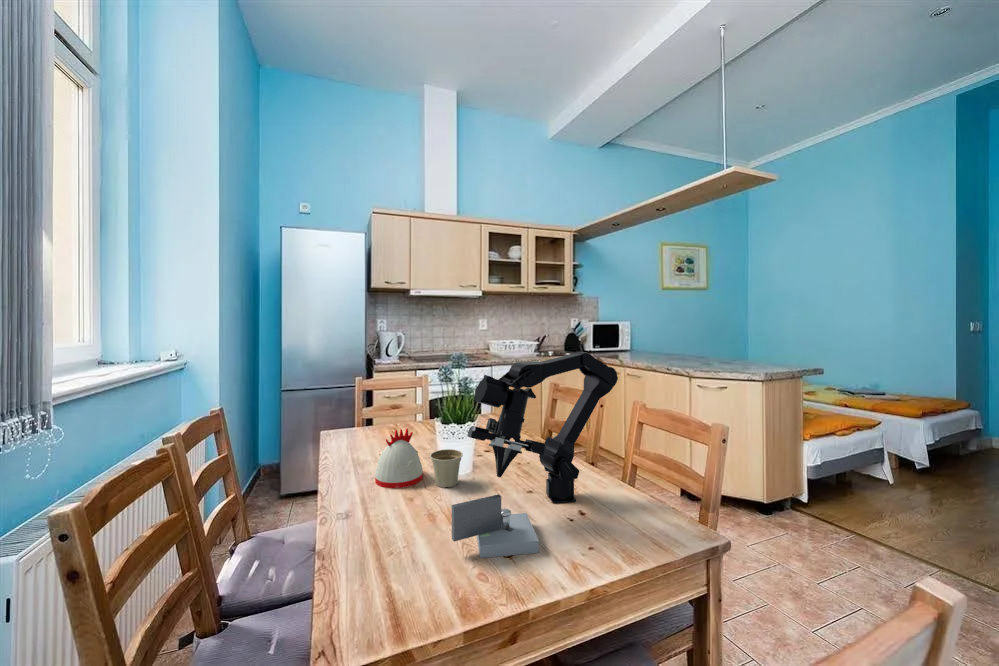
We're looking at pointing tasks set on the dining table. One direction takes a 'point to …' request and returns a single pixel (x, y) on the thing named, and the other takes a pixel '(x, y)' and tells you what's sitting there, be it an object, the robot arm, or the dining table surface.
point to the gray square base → (510, 539)
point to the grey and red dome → (399, 463)
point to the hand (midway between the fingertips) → (498, 476)
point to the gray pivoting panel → (478, 517)
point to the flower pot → (446, 466)
